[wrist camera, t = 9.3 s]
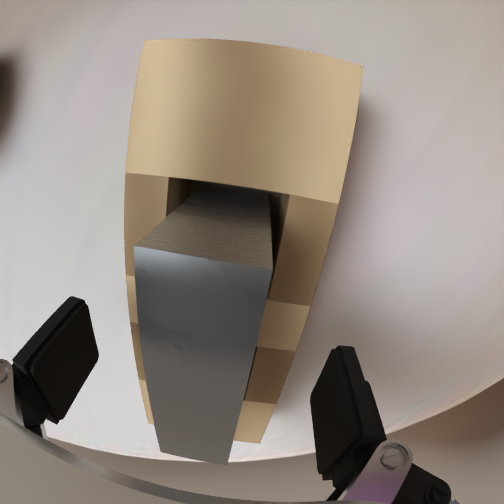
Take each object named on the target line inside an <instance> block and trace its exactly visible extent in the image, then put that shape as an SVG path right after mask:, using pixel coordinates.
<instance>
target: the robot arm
mask: <svg viewBox="0 0 504 504" xmlns="http://www.w3.org/2000/svg"><path fill="white" fill-rule="evenodd" d="M98 357H99V353H98V349H97V345H96V341H95V336H94V332H93V328H92V323H91V318H90V313H89V308H88V305H87V304H86V303H85V301H84V300H83V299H80V298H76V297H73V296H71V297H69V298H68V299H67V300H66V301H65V302H64V303H63V304H62V305H61V306H60V307H59V308H58V309H57V310H56V311H55V312H54V313H53V314H52V315H51V317H50V318H49V319H48V320H47V321H46V322H45V323H44V324H43V325H42V326H41V327H40V328H39V330H38V331H37V332H36V333H35V334H34V335H33V336H32V337H31V338H30V340H29V341H28V342H27V343H26V344H25V345H24V346H23V348H22V349H21V350H20V351H19V352H18V354H17V355H16V356H15V357H14V358H13V362H14V363H13V364H12V365H11V364H10V363H9V362H8V361H7V360H3V359H0V504H459V503H458V502H457V501H456V500H453V501H452V500H451V490H450V487H449V485H448V484H447V483H446V482H444V481H443V480H441V479H439V478H438V477H436V476H434V475H432V474H430V473H429V472H427V471H425V470H423V469H422V468H420V467H418V466H416V465H415V464H413V463H412V461H413V457H412V452H411V450H410V449H409V447H408V446H407V445H406V444H405V443H403V442H401V441H399V440H392V439H391V440H387V439H386V435H385V432H384V428H383V425H382V421H381V418H380V415H379V412H378V408H377V405H376V402H375V399H374V396H373V393H372V390H371V386H370V384H369V382H368V381H365V379H364V376H363V373H362V370H361V367H360V364H359V361H358V358H357V355H356V352H355V349H354V347H352V346H337V348H336V349H332V350H331V352H330V355H329V357H328V359H327V361H326V363H325V366H324V368H323V370H322V372H321V374H320V376H319V379H318V381H317V383H316V385H315V387H314V389H313V391H312V393H311V397H310V404H311V413H312V421H313V430H314V439H315V449H316V459H317V469H318V473H319V474H322V477H323V480H333V487H334V489H333V490H332V491H331V492H330V493H329V495H328V496H327V497H326V498H325V499H324V501H317V502H269V501H251V500H240V499H239V500H238V499H230V498H222V497H215V496H209V495H203V494H197V493H191V492H186V491H182V490H177V489H173V488H168V487H164V486H161V485H157V484H153V483H150V482H146V481H143V480H139V479H136V478H133V477H130V476H127V475H124V474H121V473H119V472H116V471H113V470H111V469H108V468H105V467H103V466H100V465H98V464H95V463H93V462H91V461H88V460H86V459H84V458H82V457H79V456H77V455H75V454H73V453H71V452H69V451H67V450H65V449H63V448H61V447H59V446H57V445H55V444H53V443H51V442H49V441H48V439H47V435H46V431H45V426H44V421H45V419H47V420H49V421H51V422H53V423H55V424H58V422H59V420H62V419H63V418H64V417H65V415H66V414H67V412H68V410H69V408H70V406H71V405H72V403H73V401H74V399H75V398H76V396H77V394H78V392H79V391H80V389H81V387H82V386H83V384H84V382H85V381H86V379H87V377H88V376H89V374H90V372H91V371H92V369H93V367H94V366H95V364H96V363H97V361H98Z"/></svg>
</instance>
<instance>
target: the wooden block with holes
mask: <svg viewBox="0 0 504 504" xmlns="http://www.w3.org/2000/svg"><path fill="white" fill-rule="evenodd" d="M363 68H364V66H361V65H358V64H355V63H351V62H348V61H344V60H341V59H337V58H334V57H330V56H326V55H322V54H317V53H313V52H309V51H304V50H299V49H294V48H288V47H283V46H276V45H270V44H262V43H254V42H245V41H234V40H219V39H161V40H146V41H144V45H143V49H142V54H141V59H140V63H139V69H138V74H137V79H136V85H135V91H134V97H133V104H132V111H131V119H130V127H129V137H128V147H127V160H126V176H125V202H124V240H125V267H126V283H127V296H128V307H129V316H130V325H131V333H132V340H133V347H134V354H135V360H136V366H137V372H138V377H139V383H140V388H141V393H142V397H143V402H144V406H145V411H146V415H147V419H148V423H150V424H153V425H154V421H153V416H152V412H151V407H150V401H149V396H148V391H147V385H146V379H145V373H144V366H143V359H142V351H141V343H140V335H139V325H138V315H137V303H136V288H135V267H134V245H136V244H137V243H138V242H139V241H140V240H141V239H142V238H143V237H144V236H145V235H146V234H148V233H149V232H150V231H151V230H152V229H153V228H154V227H155V226H156V225H158V224H159V223H160V222H161V221H162V220H163V219H164V218H166V217H167V216H168V215H169V214H170V213H171V212H173V211H174V210H175V209H176V208H177V207H178V206H180V205H181V204H182V203H183V202H184V201H185V200H187V199H188V198H189V197H190V196H191V195H193V194H194V193H195V192H196V191H198V190H199V189H200V188H201V187H202V186H204V185H205V184H206V183H207V184H215V185H222V186H229V187H236V188H242V189H249V190H255V191H261V192H267V193H269V204H270V222H271V241H272V261H273V271H272V276H271V280H270V285H269V290H268V294H267V299H266V304H265V308H264V313H263V317H262V322H261V326H260V331H259V335H258V339H257V344H256V348H255V353H254V357H253V361H252V366H251V370H250V374H249V378H248V382H247V387H246V391H245V395H244V399H243V403H242V407H241V411H240V415H239V419H238V423H237V427H236V431H235V435H234V439H233V440H234V441H242V442H251V443H260V442H261V440H262V437H263V435H264V433H265V430H266V428H267V425H268V423H269V421H270V418H271V416H272V413H273V411H274V408H275V406H276V403H277V401H278V398H279V396H280V393H281V390H282V388H283V385H284V382H285V380H286V377H287V374H288V372H289V369H290V366H291V363H292V360H293V358H294V355H295V352H296V349H297V346H298V343H299V340H300V337H301V334H302V331H303V328H304V325H305V322H306V319H307V316H308V313H309V310H310V307H311V303H312V300H313V297H314V294H315V290H316V287H317V283H318V280H319V277H320V273H321V270H322V266H323V263H324V259H325V255H326V252H327V248H328V244H329V240H330V237H331V233H332V229H333V225H334V221H335V217H336V213H337V209H338V204H339V200H340V196H341V192H342V187H343V183H344V178H345V173H346V169H347V164H348V159H349V154H350V149H351V144H352V138H353V133H354V127H355V122H356V116H357V110H358V103H359V97H360V90H361V83H362V76H363Z"/></svg>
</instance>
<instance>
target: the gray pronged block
mask: <svg viewBox="0 0 504 504" xmlns="http://www.w3.org/2000/svg"><path fill="white" fill-rule="evenodd" d="M134 267H135V288H136V303H137V315H138V325H139V335H140V343H141V351H142V359H143V366H144V373H145V379H146V385H147V391H148V396H149V401H150V407H151V412H152V416H153V421H154V426H155V430H156V434H157V439H158V443H159V447H160V451H161V452H163V453H167V454H171V455H176V456H180V457H185V458H189V459H194V460H200V461H205V462H212V463H218V464H224V465H227V462H228V459H229V455H230V451H231V447H232V443H233V439H234V435H235V431H236V427H237V423H238V419H239V415H240V411H241V407H242V403H243V399H244V395H245V391H246V387H247V382H248V378H249V374H250V370H251V366H252V361H253V357H254V353H255V348H256V344H257V339H258V335H259V331H260V326H261V322H262V317H263V313H264V308H265V304H266V299H267V294H268V290H269V285H270V280H271V276H272V271H273V261H272V241H271V222H270V204H269V193H267V192H261V191H255V190H249V189H242V188H236V187H229V186H222V185H215V184H207V183H206V184H205V185H204V186H202V187H201V188H200V189H199V190H198V191H196V192H195V193H194V194H193V195H191V196H190V197H189V198H188V199H187V200H185V201H184V202H183V203H182V204H181V205H180V206H178V207H177V208H176V209H175V210H174V211H173V212H171V213H170V214H169V215H168V216H167V217H166V218H164V219H163V220H162V221H161V222H160V223H159V224H158V225H156V226H155V227H154V228H153V229H152V230H151V231H150V232H149V233H148V234H146V235H145V236H144V237H143V238H142V239H141V240H140V241H139V242H138V243H137V244H136V245H134Z"/></svg>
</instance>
